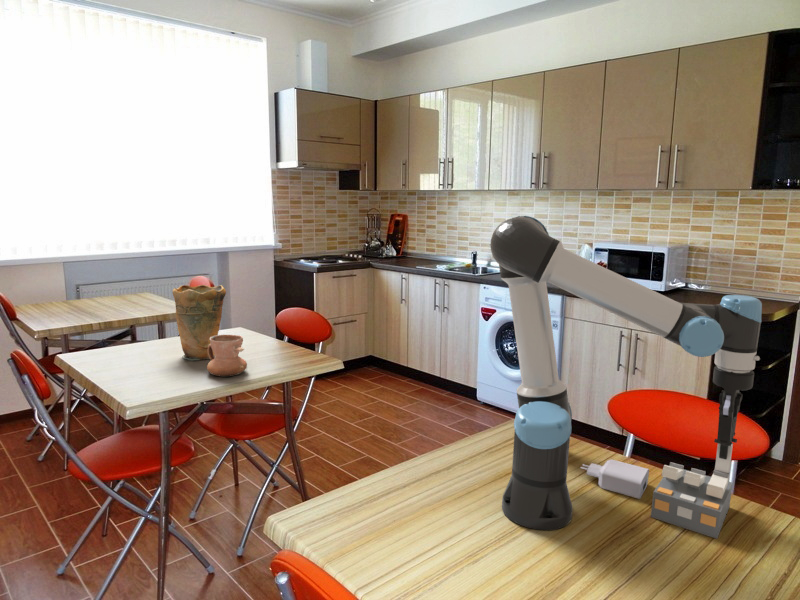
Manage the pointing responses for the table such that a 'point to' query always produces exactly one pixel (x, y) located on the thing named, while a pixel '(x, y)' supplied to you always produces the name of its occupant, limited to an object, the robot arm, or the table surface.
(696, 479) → the rocker
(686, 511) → the switch unit
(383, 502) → the table surface
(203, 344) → the vase
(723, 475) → the rocker
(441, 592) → the table surface
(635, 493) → the charger
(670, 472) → the rocker
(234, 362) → the ceramic jug
